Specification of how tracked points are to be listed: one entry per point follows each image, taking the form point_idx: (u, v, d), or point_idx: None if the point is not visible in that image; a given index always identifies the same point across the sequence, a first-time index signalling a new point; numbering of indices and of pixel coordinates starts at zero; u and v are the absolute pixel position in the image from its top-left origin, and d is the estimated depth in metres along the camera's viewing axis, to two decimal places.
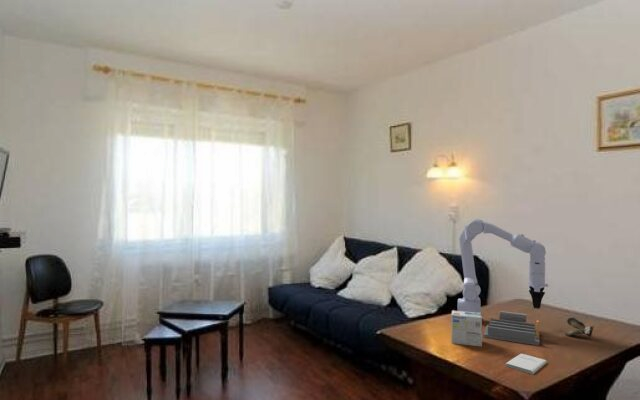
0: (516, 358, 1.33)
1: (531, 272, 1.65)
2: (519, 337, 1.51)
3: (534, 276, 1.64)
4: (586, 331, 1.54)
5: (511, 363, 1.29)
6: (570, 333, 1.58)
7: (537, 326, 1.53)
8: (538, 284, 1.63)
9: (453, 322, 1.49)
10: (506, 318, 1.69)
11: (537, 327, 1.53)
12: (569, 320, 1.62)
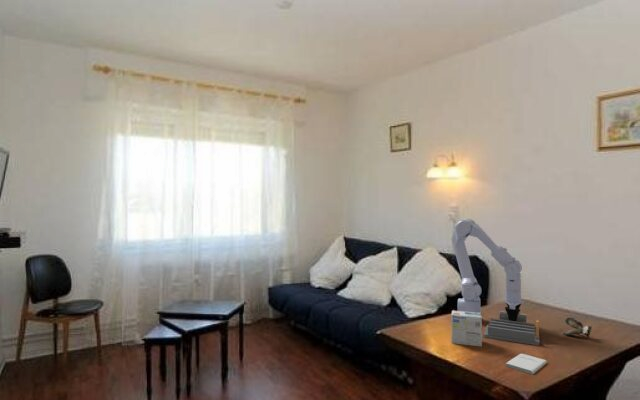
0: (516, 358, 1.33)
1: (507, 289, 1.68)
2: (519, 337, 1.51)
3: (510, 293, 1.67)
4: (584, 331, 1.54)
5: (511, 363, 1.29)
6: (568, 333, 1.58)
7: (537, 326, 1.53)
8: (514, 301, 1.66)
9: (453, 322, 1.49)
10: (506, 318, 1.69)
11: (537, 327, 1.53)
12: (567, 320, 1.62)
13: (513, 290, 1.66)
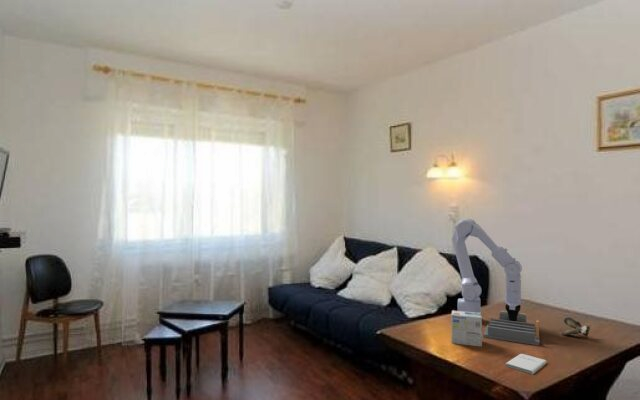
0: (516, 358, 1.33)
1: (507, 290, 1.68)
2: (519, 337, 1.51)
3: (510, 294, 1.67)
4: (582, 331, 1.54)
5: (511, 363, 1.29)
6: (567, 333, 1.58)
7: (537, 326, 1.53)
8: (514, 302, 1.66)
9: (453, 322, 1.49)
10: (506, 318, 1.69)
11: (537, 327, 1.53)
12: (566, 320, 1.62)
13: (513, 291, 1.66)
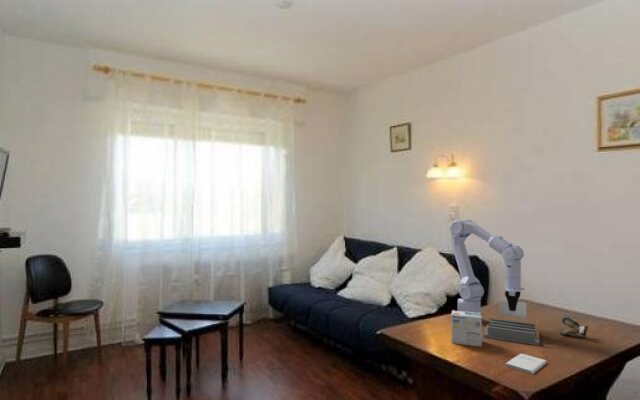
0: (516, 358, 1.33)
1: (505, 275, 1.63)
2: (519, 337, 1.51)
3: (509, 280, 1.61)
4: (580, 330, 1.54)
5: (511, 363, 1.29)
6: (565, 332, 1.58)
7: (537, 326, 1.53)
8: (513, 288, 1.60)
9: (453, 322, 1.49)
10: (505, 307, 1.63)
11: (537, 327, 1.53)
12: (564, 319, 1.62)
13: (510, 276, 1.61)
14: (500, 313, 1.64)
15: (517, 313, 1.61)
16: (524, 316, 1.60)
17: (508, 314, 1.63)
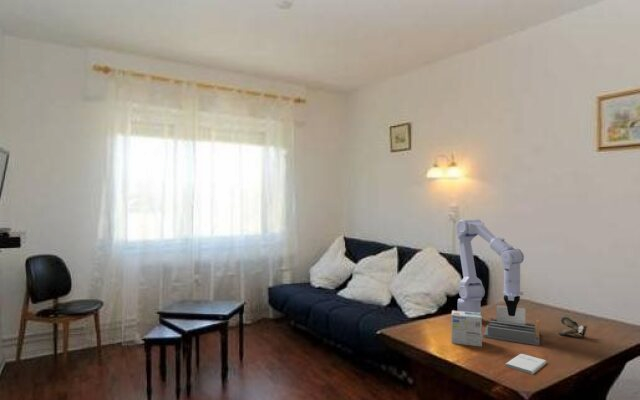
0: (516, 358, 1.33)
1: (504, 279, 1.59)
2: (519, 337, 1.51)
3: (508, 284, 1.56)
4: (579, 330, 1.55)
5: (511, 363, 1.29)
6: (564, 332, 1.58)
7: (537, 326, 1.53)
8: (513, 292, 1.55)
9: (453, 322, 1.49)
10: (504, 313, 1.59)
11: (537, 327, 1.53)
12: (563, 319, 1.63)
13: (507, 280, 1.56)
14: (498, 319, 1.60)
15: (516, 319, 1.57)
16: (523, 322, 1.55)
17: (506, 320, 1.58)
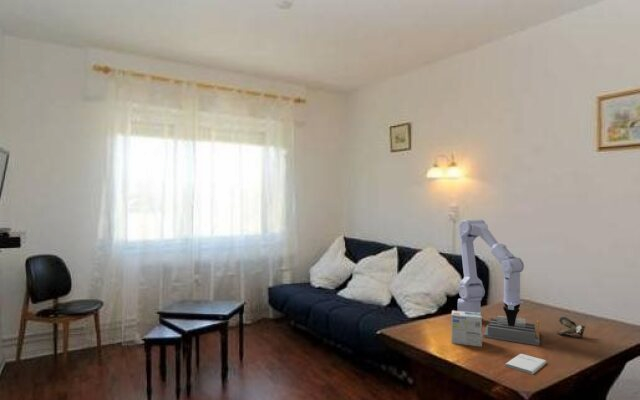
0: (516, 358, 1.33)
1: (504, 287, 1.59)
2: (519, 337, 1.51)
3: (508, 293, 1.56)
4: (577, 330, 1.55)
5: (511, 363, 1.29)
6: (562, 332, 1.59)
7: (537, 326, 1.53)
8: (513, 301, 1.55)
9: (453, 322, 1.49)
10: (504, 323, 1.59)
11: (537, 327, 1.53)
12: (561, 319, 1.63)
13: (507, 289, 1.56)
14: None
15: None
16: None
17: None
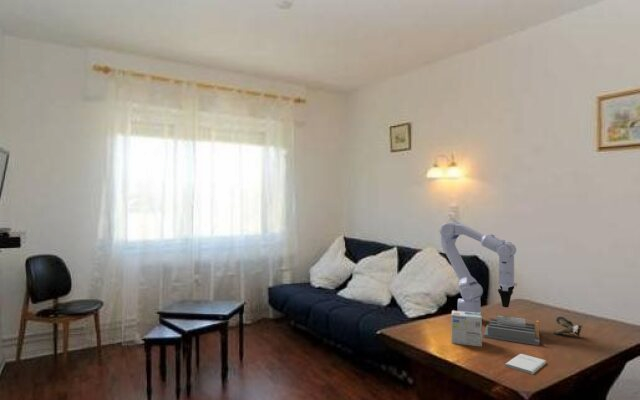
0: (516, 358, 1.33)
1: (499, 271, 1.68)
2: (519, 337, 1.51)
3: (503, 275, 1.66)
4: (574, 330, 1.55)
5: (511, 363, 1.29)
6: (559, 332, 1.59)
7: (537, 326, 1.53)
8: (507, 283, 1.65)
9: (453, 322, 1.49)
10: (504, 323, 1.59)
11: (537, 327, 1.53)
12: (558, 319, 1.63)
13: (505, 272, 1.65)
14: None
15: None
16: None
17: None
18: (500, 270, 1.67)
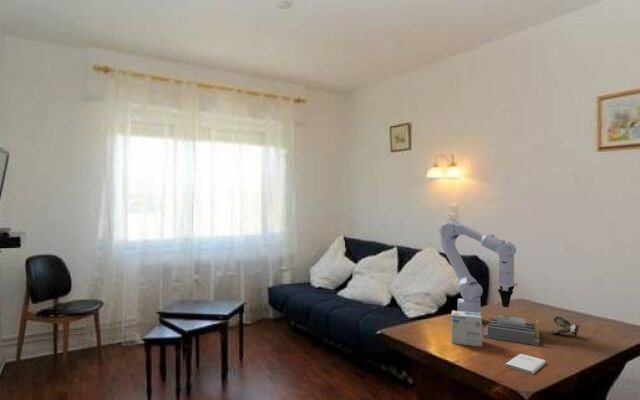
0: (515, 358, 1.33)
1: (499, 271, 1.68)
2: (519, 337, 1.51)
3: (503, 275, 1.66)
4: (571, 329, 1.56)
5: (511, 363, 1.29)
6: (556, 331, 1.59)
7: (537, 326, 1.53)
8: (507, 283, 1.65)
9: (453, 322, 1.49)
10: (504, 323, 1.59)
11: (537, 327, 1.53)
12: (555, 319, 1.64)
13: (505, 272, 1.66)
14: None
15: None
16: None
17: None
18: (500, 270, 1.67)
